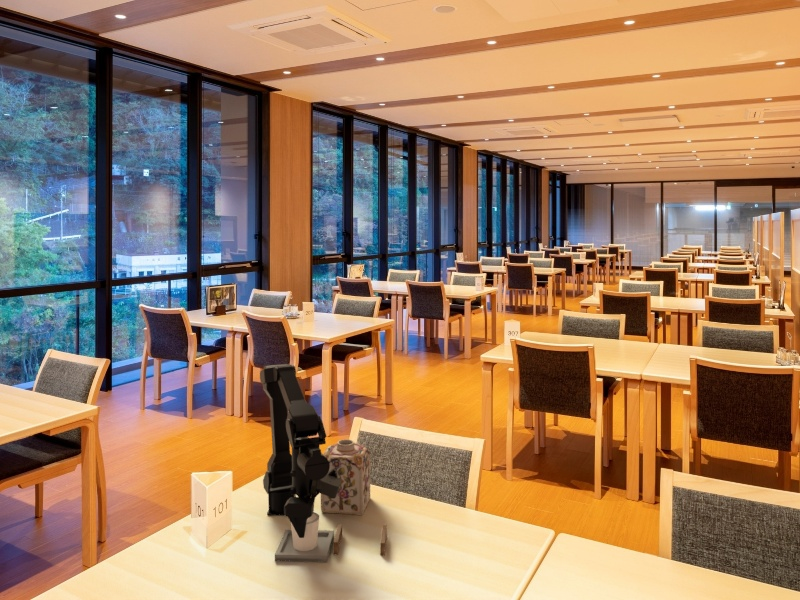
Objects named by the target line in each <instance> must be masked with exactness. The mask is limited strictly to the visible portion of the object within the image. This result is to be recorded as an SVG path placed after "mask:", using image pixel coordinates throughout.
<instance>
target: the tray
mask: <svg viewBox="0 0 800 600" xmlns="http://www.w3.org/2000/svg"><path fill="white" fill-rule="evenodd" d="M334 538H335V531H334V530H321V529H318V539H317V546H316V547H315V548H314V549H312V550H309V551H299V550H296V549H295V548H294V547H293V538H292V530H291V529H285V530H284V532H283V535H282V537H281V539H280V541H279V543H278V546H277V548H276V551H275V553H274V562H294V563H295V562H300V563H301V562H304V563H308V562H309V563H328V560H329V556H330V553H331V549H332V546H333V542H334Z"/></svg>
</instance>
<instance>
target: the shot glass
mask: <svg viewBox="0 0 800 600" xmlns="http://www.w3.org/2000/svg"><path fill="white" fill-rule="evenodd" d="M319 524H320V515H319V513H317V512H314V511H313V514H312V516H311V517H309V518H308V519H307V523H306V530H305V535H304V538H299V536H298V534H297V532H296V531H295V529H294V527H293V525H292V523H291V522H290V527H291V529H290V530H292V538H293V547H294V548H295V549H296V550H299V551H309V550H312V549H314V548H315V547H316V546H317V539H318V530H319Z"/></svg>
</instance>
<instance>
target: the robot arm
mask: <svg viewBox="0 0 800 600" xmlns="http://www.w3.org/2000/svg"><path fill="white" fill-rule="evenodd" d="M259 381H260V384H262V390H263V391H264V393H265V394H266V396H267V397H268V399H269V409H270V410H269V411H270V413H269V414H270V428H271V430H270V431H271V444H272V446H271V447H272V454H271V456H270V457H269V459H268V461H267V463H266V465H267V467H266V470H267V471H265V474H264V476H263V478H262V483H263V489H264V490H265V492H266V494H267V495H268V497H267V498H268V510H267V512H266V515H267V516H284V517H286V518H287V519H288V520H289V521H290V524H291V523H292V525H293V527H294V529H295V531H296V532H297V534H298V536H299V538H304V535H305V530H306V523H307V519H308V518H309V517H311V516H312V514H313V512H314V511H315V510H314V508H315V501H316V497H317V496H318V495H321V494H324V495H326V496H329V497H330V498H333V499H334V498H336V495H337V493H338V490H339V487H340V484H341V478H340V477H339V478H338V471H337V470H335V469H331V470H330V471H329V468H330V464H329V461H328V459H327V458H326V457H325V456H324V455H323V454H324V453H323V452H322V449H320V446H321V445H326V444H327V442H326V438H327V434H326V430H325V426H324V423H323V420H322V418H321V415H318V412H317V411H316V408H315V406H313V405H312V404H310V403H308V402H307V400H306V398H305V396H304V393H303V391H302V388H301V386H300V382H299V380H298V377H297V370H296V366H295V365H293V364H288V363H283V364H282V363H280V364H271V365H264V367H263V369H261V370H260V371H259ZM317 435H318V436H317ZM290 446H291V447H290ZM328 471H329V472H328Z"/></svg>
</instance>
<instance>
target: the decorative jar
mask: <svg viewBox="0 0 800 600" xmlns="http://www.w3.org/2000/svg"><path fill="white" fill-rule="evenodd" d="M322 454H323V455H324V456H325V457H326V458H327V459H328V461H329V464H330V468H329V471H330V470H331V469H335V470H337V471H338V478H339V477H340V478H341V484H340V487H339V490H338V493H337V495H336V498H334V499H333V498H330V497H329V496H326V495H324V494H321V493H320V510H321V511H320V512H321V513H323V514H340V515H341V514H342V515H357V516H363V515H364V512H365V510H366V508H367V506H368V504H369V501H370V498H371V460H370V459H371V455H370V454H371V452H370V451H369V450H368V448H366V446H364V445H363V444H360V443H356V442H355V441H354V440H351V439H339V440H338V441H337V443H334V444H331V445H328V446H327V447H326V448H325V449H324V452H323V453H322ZM329 471H328V472H329Z"/></svg>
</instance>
